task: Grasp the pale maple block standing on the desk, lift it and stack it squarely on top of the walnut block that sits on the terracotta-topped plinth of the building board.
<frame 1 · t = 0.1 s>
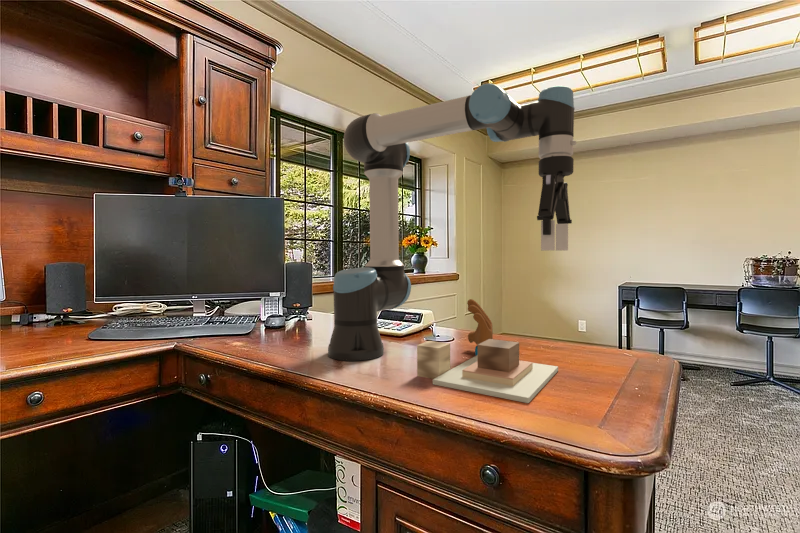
hand: (555, 250, 94), 28 cm above the table, fingers open, 13 cm apart
walnut block: (498, 365, 89), point 2 cm above the table, touching board
toy: (480, 354, 110), on the table
maple block: (433, 375, 92), on the table
board: (498, 377, 90), on the table
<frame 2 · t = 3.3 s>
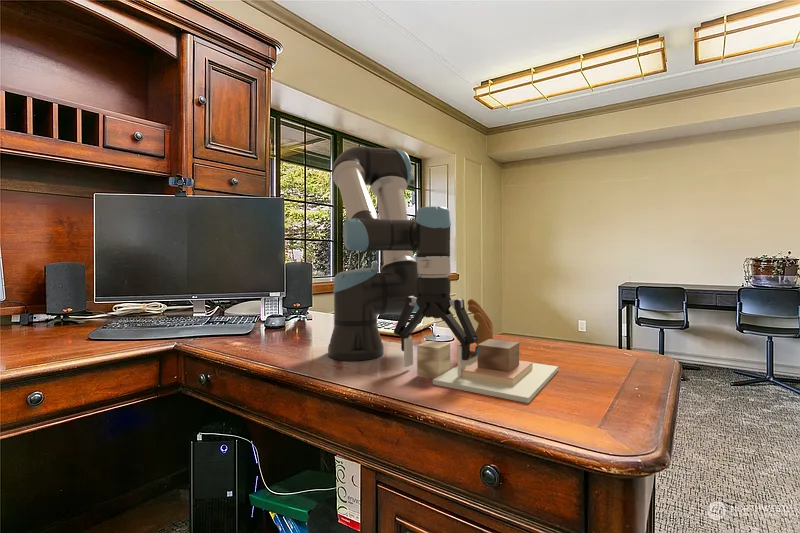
hand: (434, 370, 91), 1 cm above the table, fingers open, 13 cm apart
nothing on the table moved.
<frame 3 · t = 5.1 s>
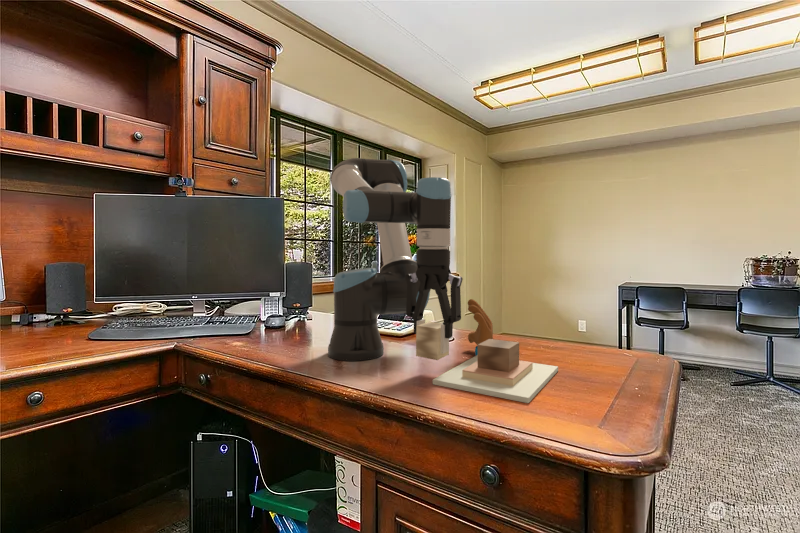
hand: (432, 349, 92), 6 cm above the table, fingers closed on maple block, 5 cm apart
maple block: (432, 355, 92), point 4 cm above the table, touching gripper
everything else where it was.
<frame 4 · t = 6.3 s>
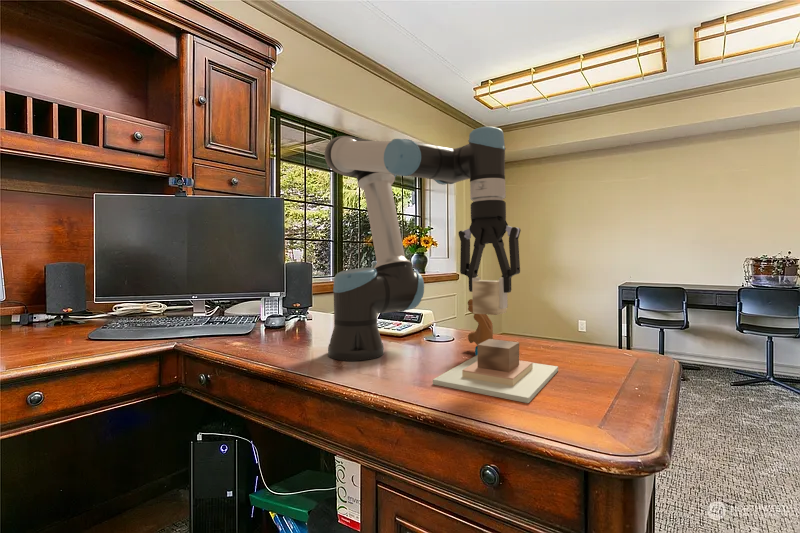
hand: (489, 307, 88), 16 cm above the table, fingers closed on maple block, 5 cm apart
maple block: (489, 312, 88), point 14 cm above the table, touching gripper
everything else where it was.
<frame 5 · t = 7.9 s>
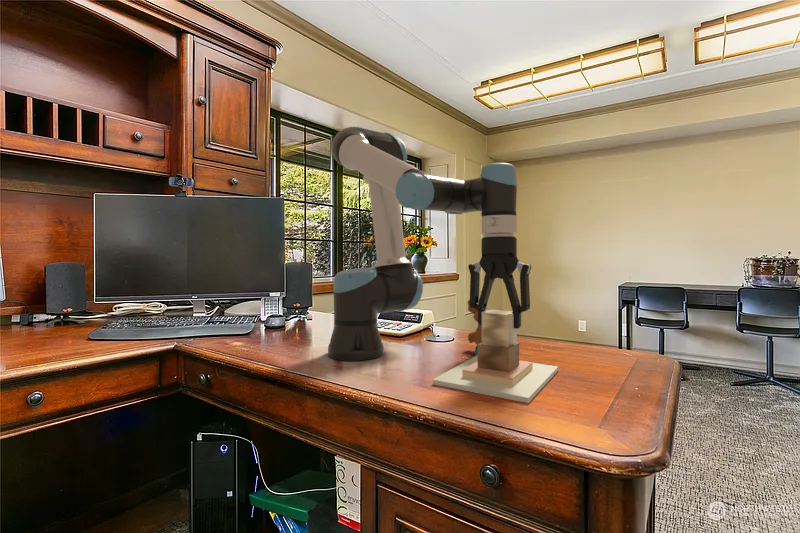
hand: (499, 341, 89), 8 cm above the table, fingers closed on maple block, 5 cm apart
walnut block: (498, 365, 89), point 2 cm above the table, touching board, maple block
maple block: (499, 343, 89), point 7 cm above the table, touching gripper, walnut block
everything else where it was.
when the fingers open (8 cm above the table, at t = 8.4 s): maple block stays where it is, resting on walnut block.
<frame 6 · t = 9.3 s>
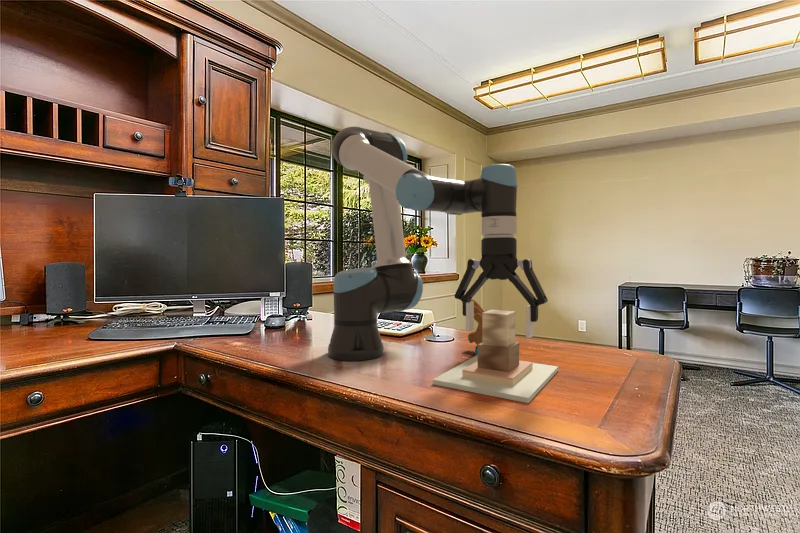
hand: (498, 333, 89), 10 cm above the table, fingers open, 13 cm apart
maple block: (499, 343, 89), point 7 cm above the table, touching walnut block
everything else where it was.
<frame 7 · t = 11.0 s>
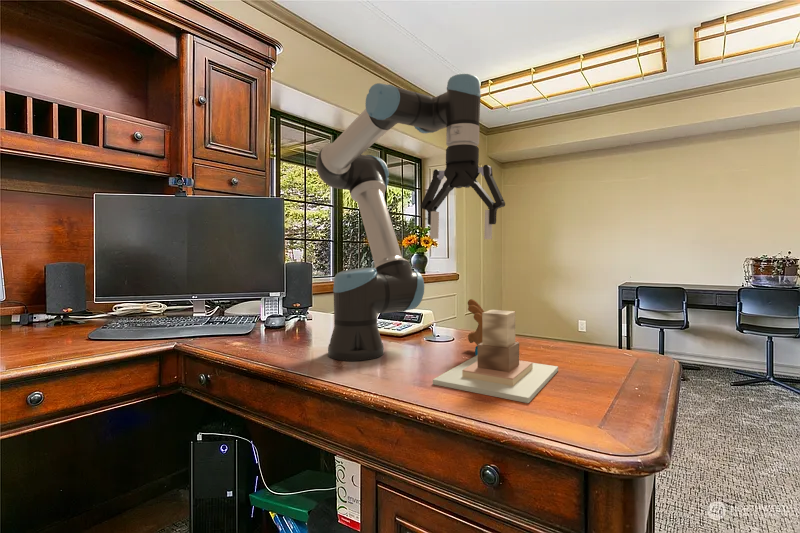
hand: (460, 239, 95), 31 cm above the table, fingers open, 13 cm apart
nothing on the table moved.
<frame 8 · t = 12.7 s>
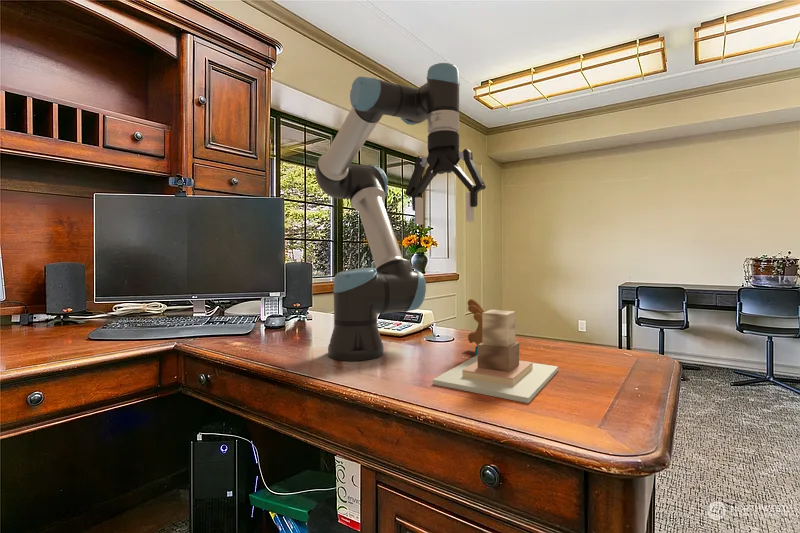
hand: (443, 223, 97), 35 cm above the table, fingers open, 13 cm apart
nothing on the table moved.
at the end: maple block 0.1 cm off-centre on the walnut block, point 5.0 cm above the walnut block's base; maple block tilted 0°; the gripper is holding nothing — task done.
